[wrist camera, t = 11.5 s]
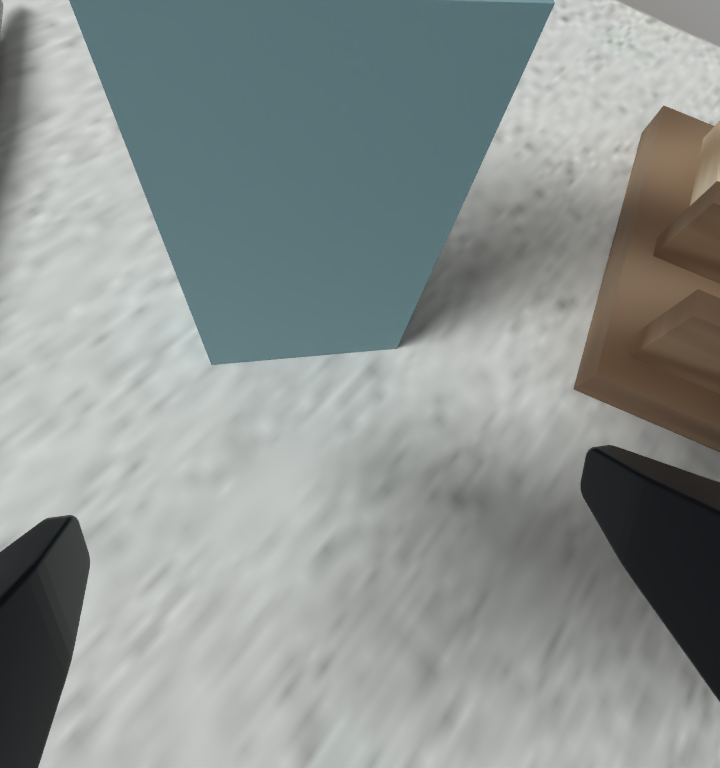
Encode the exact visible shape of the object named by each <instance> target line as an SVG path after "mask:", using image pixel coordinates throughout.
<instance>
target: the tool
mask: <svg viewBox="0 0 720 768" xmlns="http://www.w3.org/2000/svg"><path fill="white" fill-rule="evenodd" d="M2 14H3V2H2V1H1V0H0V34H1V24H2Z"/></svg>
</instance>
